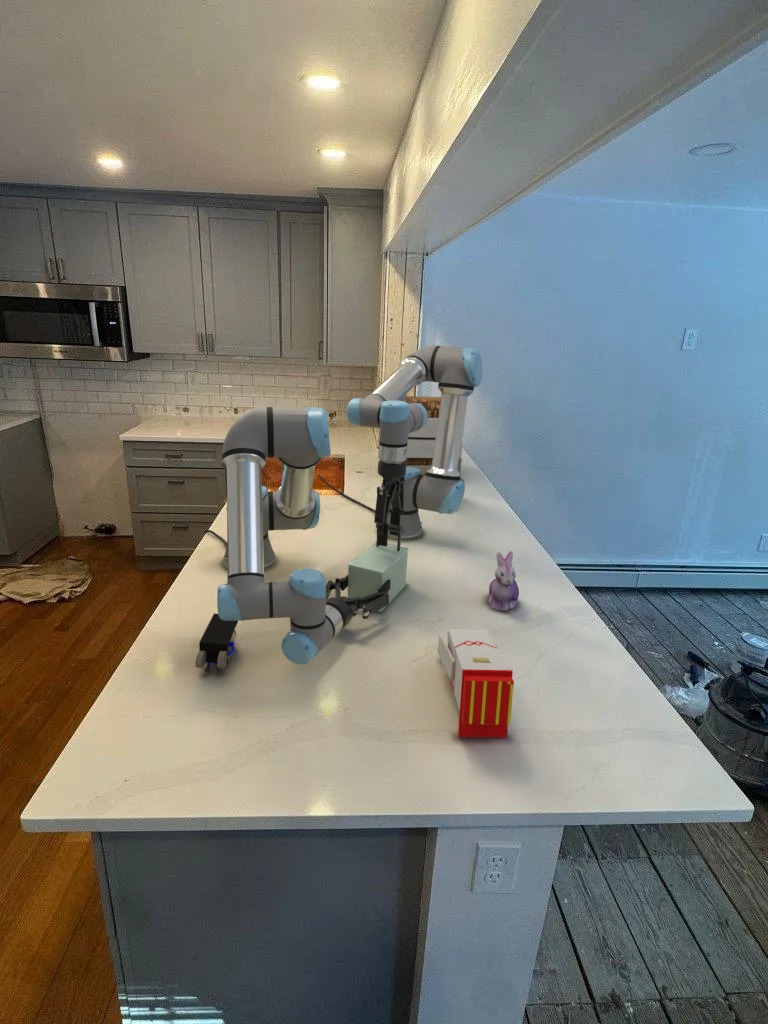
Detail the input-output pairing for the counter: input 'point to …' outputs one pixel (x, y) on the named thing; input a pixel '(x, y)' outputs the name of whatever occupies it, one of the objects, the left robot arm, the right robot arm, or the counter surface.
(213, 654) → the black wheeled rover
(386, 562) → the lid
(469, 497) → the counter surface
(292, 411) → the left robot arm
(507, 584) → the figurine
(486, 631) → the toy
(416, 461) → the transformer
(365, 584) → the chest
